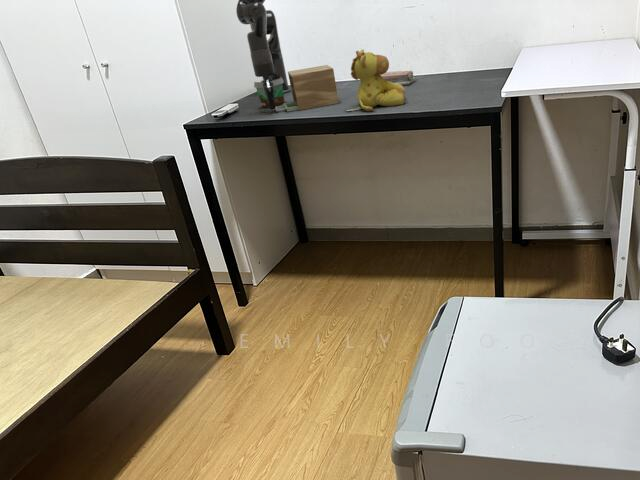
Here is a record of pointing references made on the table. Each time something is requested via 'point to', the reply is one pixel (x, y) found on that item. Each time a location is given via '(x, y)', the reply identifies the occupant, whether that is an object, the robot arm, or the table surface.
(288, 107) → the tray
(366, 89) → the giraffe plush
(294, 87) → the wooden block
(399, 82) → the packaged product
